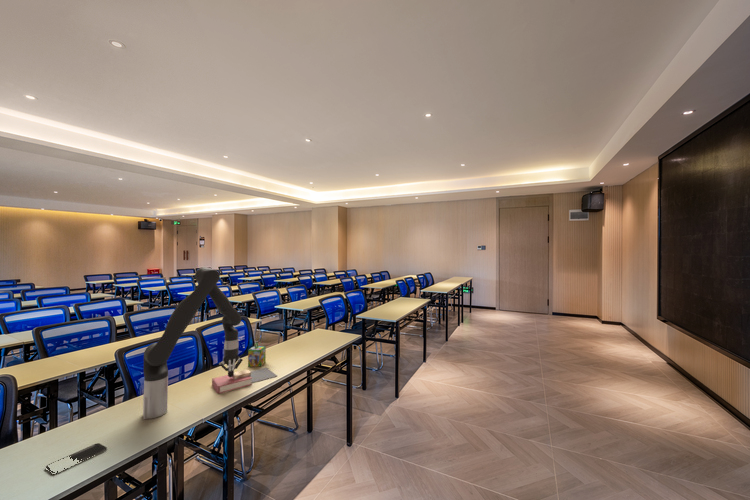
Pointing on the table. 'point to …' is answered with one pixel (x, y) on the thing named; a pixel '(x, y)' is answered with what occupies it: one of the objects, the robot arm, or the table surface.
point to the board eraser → (241, 374)
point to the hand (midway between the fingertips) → (230, 376)
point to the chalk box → (256, 356)
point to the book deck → (229, 383)
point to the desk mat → (261, 375)
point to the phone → (85, 453)
